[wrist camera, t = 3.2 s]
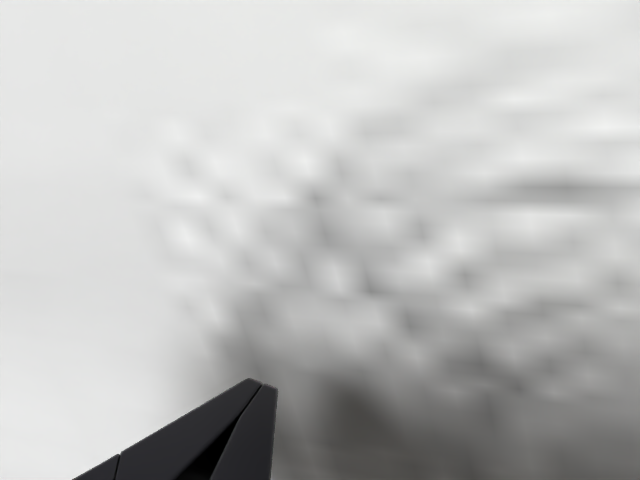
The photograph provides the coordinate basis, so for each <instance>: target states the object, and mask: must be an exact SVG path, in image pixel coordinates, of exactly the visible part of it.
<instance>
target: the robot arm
mask: <svg viewBox="0 0 640 480" xmlns="http://www.w3.org/2000/svg"><path fill="white" fill-rule="evenodd" d="M277 397H278V389H277V388H276V387H273V386H270V385H267V384H262V383H261V382H259V381H257V380H254V379H251V378H248V379H245V380H244V381H242V382H240V383H238V384H237V385H235V386H233V387H232V388H230V389H228V390H226V391H225V392H223V393H221V394H220V395H218V396H216V397H214V398H213V399H211V400H209V401H208V402H206V403H204V404H202V405H201V406H199V407H197V408H196V409H194V410H192V411H190V412H189V413H187V414H185V415H184V416H182V417H180V418H178V419H177V420H175V421H173V422H172V423H170V424H168V425H166V426H165V427H163V428H161V429H160V430H158V431H156V432H154V433H153V434H151V435H149V436H148V437H146V438H144V439H142V440H141V441H139V442H137V443H136V444H134V445H132V446H130V447H129V448H127V449H125V450H124V451H122V452H121V454H120V455H119V454H117V455H115V456H113V457H111V458H110V459H108V460H106V461H105V462H103V463H101V464H99V465H98V466H96V467H94V468H92V469H90V470H89V471H87V472H85V473H83V474H81V475H80V476H78V477H76V478H74V479H72V480H270V477H271V466H272V454H273V443H274V432H275V420H276V409H277Z"/></svg>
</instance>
